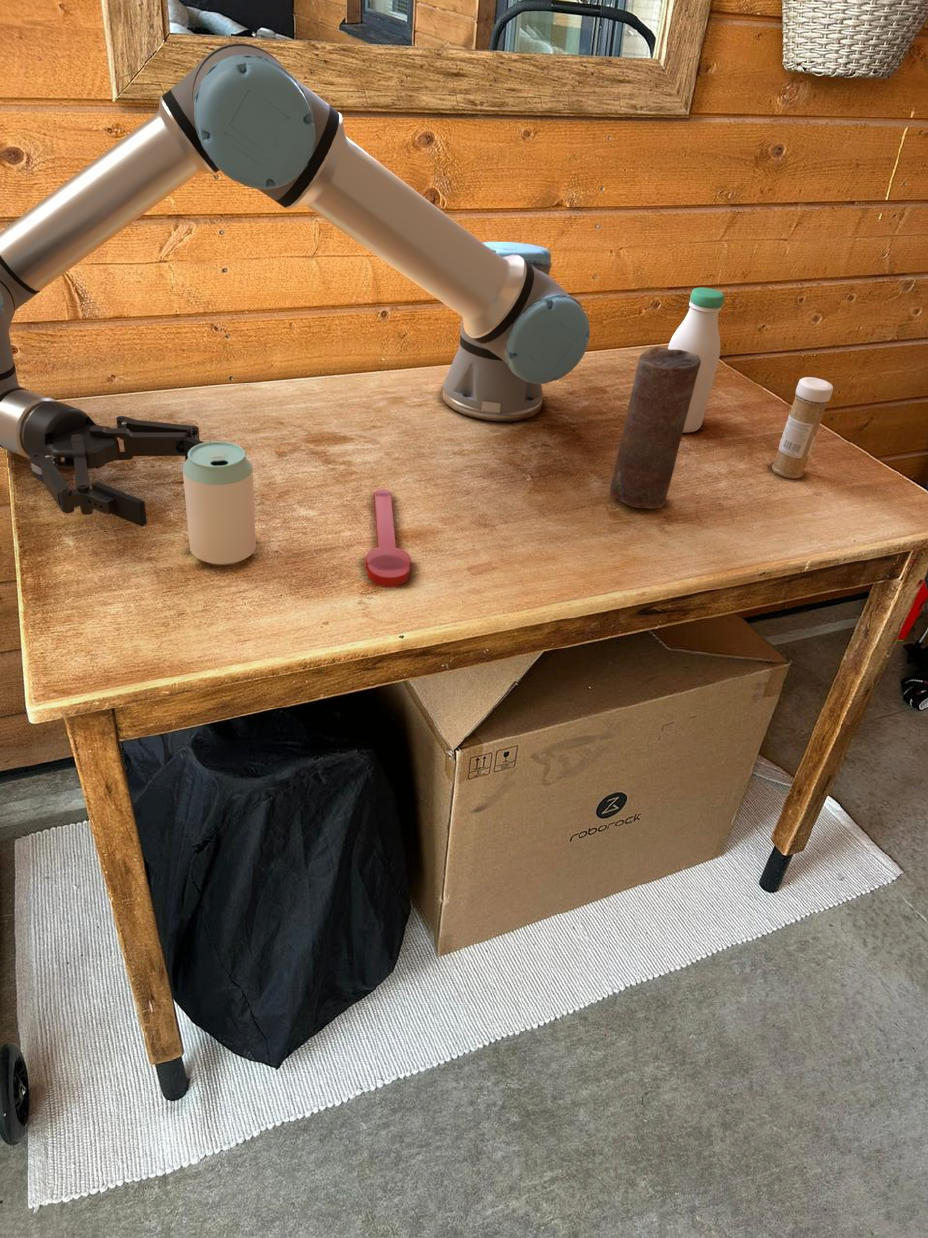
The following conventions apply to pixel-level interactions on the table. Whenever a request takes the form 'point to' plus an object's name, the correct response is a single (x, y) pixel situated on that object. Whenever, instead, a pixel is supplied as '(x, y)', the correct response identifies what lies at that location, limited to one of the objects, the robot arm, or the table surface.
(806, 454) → the spice jar
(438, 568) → the table surface
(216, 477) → the can
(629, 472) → the candle
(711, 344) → the milk bottle
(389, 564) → the spoon
